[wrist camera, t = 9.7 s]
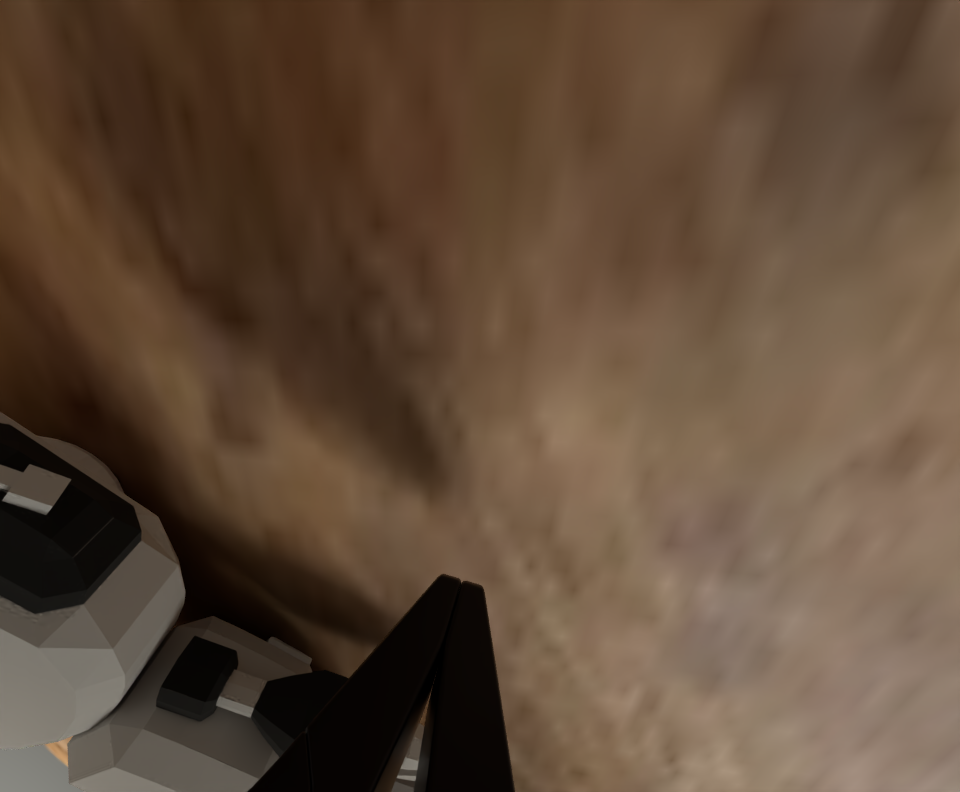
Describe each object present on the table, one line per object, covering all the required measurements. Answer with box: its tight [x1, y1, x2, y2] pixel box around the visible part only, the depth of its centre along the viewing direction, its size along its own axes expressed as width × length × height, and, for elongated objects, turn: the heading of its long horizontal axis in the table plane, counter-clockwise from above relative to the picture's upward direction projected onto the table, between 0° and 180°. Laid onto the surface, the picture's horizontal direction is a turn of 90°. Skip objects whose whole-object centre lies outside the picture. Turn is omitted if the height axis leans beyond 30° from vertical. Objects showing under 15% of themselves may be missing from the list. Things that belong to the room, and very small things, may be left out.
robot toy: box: [0, 412, 424, 792], centre depth 12 cm, size 12×4×15 cm
